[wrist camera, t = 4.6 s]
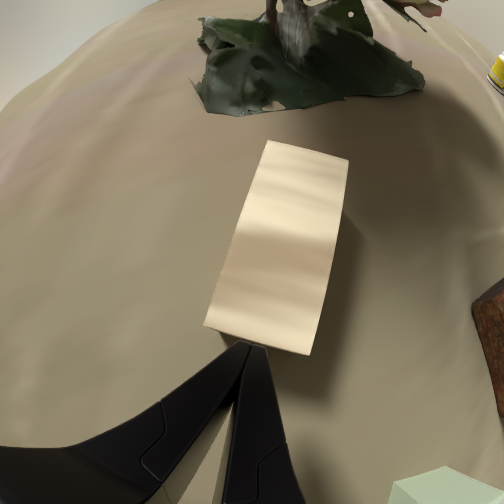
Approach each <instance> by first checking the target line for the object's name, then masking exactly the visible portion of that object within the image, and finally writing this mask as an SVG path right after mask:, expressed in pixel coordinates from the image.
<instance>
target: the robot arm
mask: <svg viewBox="0 0 504 504" xmlns="http://www.w3.org/2000/svg"><path fill="white" fill-rule="evenodd" d="M233 402H234V403H233ZM232 405H233V406H232ZM231 407H232V410H231V415H230V420H229V425H228V430H227V434H226V439H225V444H224V449H223V454H222V459H221V463H220V468H219V473H218V478H217V482H216V487H215V492H214V496H213V501H212V504H306V502H305V499H304V497H303V494H302V492H301V489H300V487H299V484H298V481H297V478H296V475H295V473H294V470H293V466H292V462H291V458H290V454H289V450H288V445H287V443H286V437H285V433H284V428H283V423H282V419H281V414H280V410H279V405H278V400H277V396H276V391H275V387H274V382H273V377H272V373H271V368H270V363H269V359H268V354H267V350H266V348H265V347H263V346H260V345H256V344H253V345H252V344H251V343H250V342H246V341H243V340H238V341H237V342H235V343H234V344H233V345H232V346H230V347H229V348H228V349H227V350H225V351H224V352H223V353H222V354H220V355H219V356H218V357H217V358H215V359H214V360H213V361H212V362H210V363H209V364H208V365H206V366H205V367H204V368H203V369H201V370H200V371H199V372H197V373H196V374H195V375H193V376H192V377H191V378H189V379H188V380H187V381H185V382H184V383H183V384H181V385H180V386H179V387H177V388H176V389H175V390H173V391H172V392H171V393H169V394H168V395H166V396H165V397H164V398H162V399H161V400H160V401H158V402H156V403H155V404H154V405H152V406H151V407H149V408H148V409H146V410H145V411H143V412H142V413H140V414H139V415H137V416H135V417H134V418H132V419H130V420H128V421H126V422H124V423H123V424H121V425H119V426H117V427H115V428H112V429H110V430H108V431H106V432H104V433H102V434H100V435H97V436H95V437H93V438H91V439H88V440H86V441H84V442H81V443H79V444H76V445H72V446H68V447H61V448H23V447H7V446H0V504H177V503H178V502H179V500H180V498H181V497H182V495H183V494H184V492H185V490H186V489H187V487H188V485H189V483H190V482H191V480H192V478H193V477H194V475H195V473H196V472H197V470H198V468H199V466H200V465H201V463H202V461H203V459H204V458H205V456H206V454H207V452H208V450H209V449H210V447H211V445H212V443H213V441H214V440H215V438H216V436H217V434H218V432H219V430H220V429H221V427H222V425H223V423H224V421H225V419H226V417H227V415H228V414H229V411H230V409H231Z"/></svg>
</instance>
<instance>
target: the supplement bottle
mask: <svg viewBox="0 0 504 504" xmlns="http://www.w3.org/2000/svg"><path fill="white" fill-rule="evenodd" d="M487 79H488V81H489V82H490V83H491V84H492V85H493V86H494V87H495V88H496V89H497V90H498V91H499V92H501V93H502V94H504V51H503V55H499V56H498V58H497V60H496V62H495V64H494V66H493V67H492V69H491V71H490V73H489V74H488V76H487Z"/></svg>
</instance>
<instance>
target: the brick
mask: <svg viewBox="0 0 504 504" xmlns="http://www.w3.org/2000/svg"><path fill="white" fill-rule="evenodd" d="M472 310H473V314H474V318H475V321H476V326H477V329H478V334H479V337H480V340H481V343H482V346H483V350H484V353H485V357H486V360H487V363H488V366H489V371H490V374H491V378H492V383H493V387H494V393H495V397H496V402H497V407H498V412H499V415H500V416H501V417H504V278H503V279H501V280H500V281H499V282H497V283H496V284H494V285H493V286H492V287H491V288H490V289H489V290H487V291H486V292H485V293H484V294H483V295H482V296H480V298H478V299H476V300H475V301H474V302H473V304H472Z"/></svg>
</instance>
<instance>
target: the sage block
mask: <svg viewBox="0 0 504 504" xmlns="http://www.w3.org/2000/svg"><path fill="white" fill-rule="evenodd" d="M503 497H504V491H502V490H499V489H497V488H494V487H492V486H489V485H487V484H484V483H482V482H480V481H477V480H475V479H473V478H470V477H468V476H466V475H464V474H462V473H459V472H457V471H455V470H453V469H451V468H449V467H447V466H444V467H441V468H438V469H436V470H433V471H430V472H426V473H423V474H420V475H417V476H413V477H410V478H406V479H402V480H398V481H394V483H393V486H392V490H391V494H390V497H389V501H388V504H501V502H502V499H503Z"/></svg>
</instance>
